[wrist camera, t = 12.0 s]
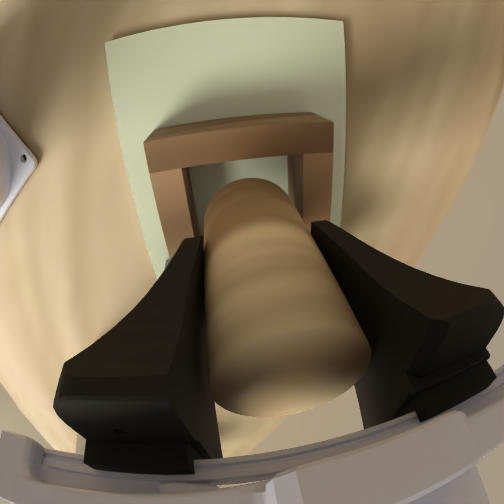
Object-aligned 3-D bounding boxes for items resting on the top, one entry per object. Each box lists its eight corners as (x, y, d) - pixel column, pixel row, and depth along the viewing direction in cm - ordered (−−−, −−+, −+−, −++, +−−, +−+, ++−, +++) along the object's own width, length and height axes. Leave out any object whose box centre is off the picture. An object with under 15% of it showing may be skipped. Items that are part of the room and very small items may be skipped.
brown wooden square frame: (154, 129, 14) (143, 142, 11) (311, 111, 14) (333, 122, 12) (182, 259, 18) (179, 291, 16) (310, 241, 19) (326, 270, 16)
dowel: (185, 214, 13) (171, 381, 6) (262, 159, 12) (337, 295, 5) (239, 271, 15) (266, 427, 8) (309, 227, 14) (386, 371, 7)
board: (107, 43, 11) (104, 42, 10) (338, 22, 12) (343, 21, 11) (159, 278, 20) (158, 283, 19) (333, 253, 20) (336, 258, 20)
